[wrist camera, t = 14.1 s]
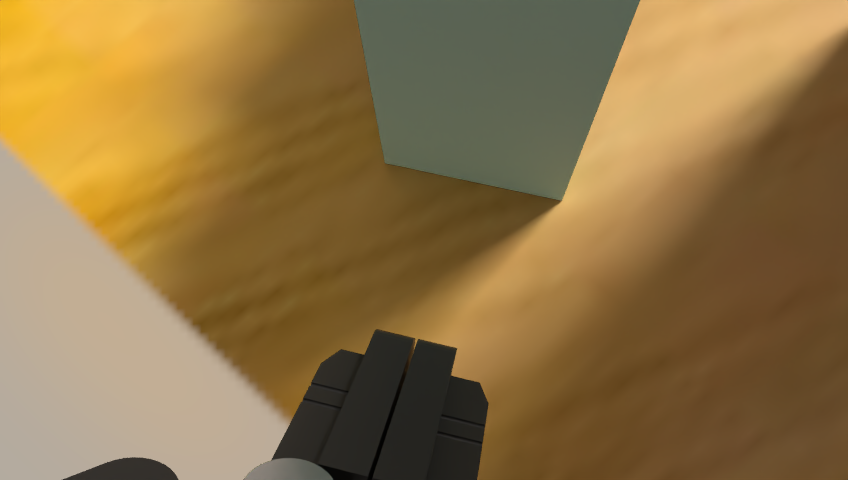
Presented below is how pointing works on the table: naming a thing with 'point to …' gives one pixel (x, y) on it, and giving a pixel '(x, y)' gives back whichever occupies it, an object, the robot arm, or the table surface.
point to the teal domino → (490, 84)
